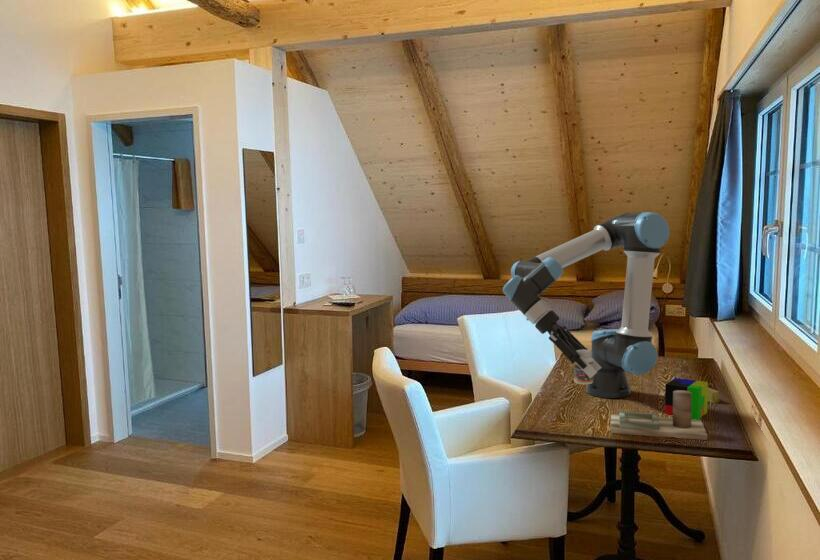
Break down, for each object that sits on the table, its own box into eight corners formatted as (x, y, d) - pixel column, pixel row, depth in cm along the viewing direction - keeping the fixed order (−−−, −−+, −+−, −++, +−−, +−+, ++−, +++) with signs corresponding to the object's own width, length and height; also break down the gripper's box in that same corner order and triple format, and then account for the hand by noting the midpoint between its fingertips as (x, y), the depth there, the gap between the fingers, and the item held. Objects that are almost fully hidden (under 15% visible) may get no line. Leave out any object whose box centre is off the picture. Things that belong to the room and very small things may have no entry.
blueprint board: (610, 418, 202) (611, 383, 201) (700, 424, 194) (701, 387, 193) (610, 433, 189) (610, 394, 188) (707, 440, 181) (707, 400, 180)
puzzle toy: (675, 407, 213) (675, 377, 212) (707, 412, 206) (707, 382, 205) (665, 414, 205) (665, 384, 204) (698, 420, 199) (698, 388, 198)
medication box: (689, 394, 228) (689, 383, 227) (696, 393, 228) (696, 382, 228) (713, 403, 216) (713, 392, 216) (720, 402, 217) (720, 391, 216)
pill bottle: (570, 382, 198) (570, 351, 197) (580, 379, 202) (580, 348, 201) (587, 385, 194) (587, 353, 193) (596, 382, 198) (596, 350, 197)
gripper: (542, 320, 211) (593, 373, 205) (525, 330, 195) (580, 388, 189) (558, 305, 208) (610, 358, 202) (542, 313, 192) (598, 371, 186)
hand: (595, 372), depth 196 cm, fingers closed on pill bottle, 6 cm apart
